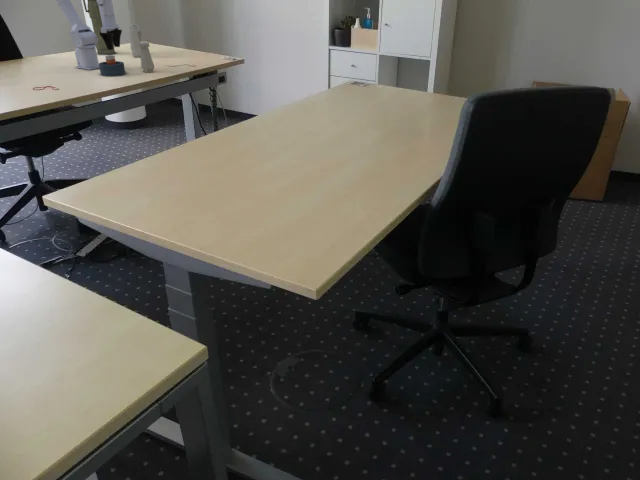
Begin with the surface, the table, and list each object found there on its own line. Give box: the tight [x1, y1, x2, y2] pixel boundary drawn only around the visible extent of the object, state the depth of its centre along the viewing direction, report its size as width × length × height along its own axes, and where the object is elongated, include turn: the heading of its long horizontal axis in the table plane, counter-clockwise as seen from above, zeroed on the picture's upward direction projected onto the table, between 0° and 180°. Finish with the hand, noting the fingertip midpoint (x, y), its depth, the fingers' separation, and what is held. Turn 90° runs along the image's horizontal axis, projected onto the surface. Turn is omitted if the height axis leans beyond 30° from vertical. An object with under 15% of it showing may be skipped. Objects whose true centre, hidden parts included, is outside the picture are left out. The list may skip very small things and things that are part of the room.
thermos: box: [82, 0, 116, 56], centre depth 277 cm, size 9×12×35 cm
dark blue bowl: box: [99, 60, 126, 77], centre depth 241 cm, size 10×10×5 cm
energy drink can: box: [127, 24, 143, 58], centre depth 277 cm, size 6×6×15 cm
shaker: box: [104, 54, 117, 65], centre depth 240 cm, size 4×4×7 cm
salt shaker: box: [139, 40, 155, 73], centre depth 246 cm, size 6×6×13 cm
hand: (113, 48), depth 243 cm, fingers open, 7 cm apart
